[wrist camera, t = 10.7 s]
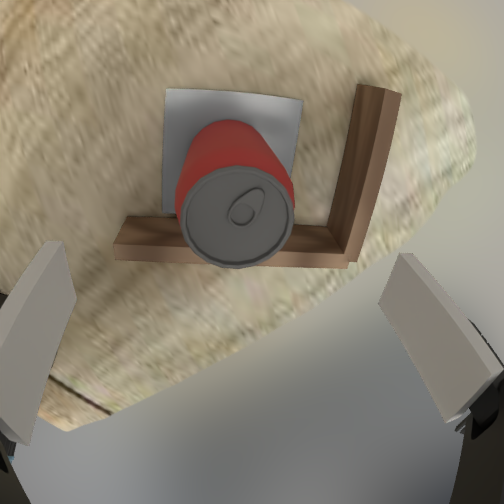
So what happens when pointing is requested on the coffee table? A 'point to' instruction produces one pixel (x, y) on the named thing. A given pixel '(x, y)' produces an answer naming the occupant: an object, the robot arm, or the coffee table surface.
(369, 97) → the wooden corner frame
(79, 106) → the coffee table surface
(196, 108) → the coaster
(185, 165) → the beer can
